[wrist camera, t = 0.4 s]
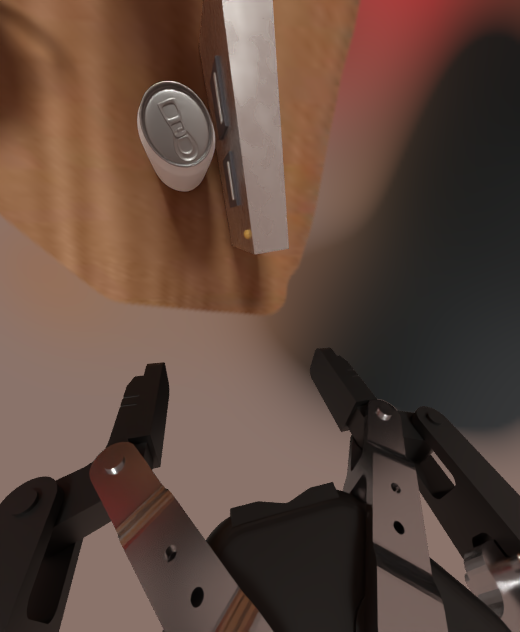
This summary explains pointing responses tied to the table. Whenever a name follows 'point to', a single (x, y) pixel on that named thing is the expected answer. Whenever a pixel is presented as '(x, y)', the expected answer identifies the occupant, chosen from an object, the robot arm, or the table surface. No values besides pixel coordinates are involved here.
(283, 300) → the table surface
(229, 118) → the psu panel
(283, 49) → the table surface
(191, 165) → the can
